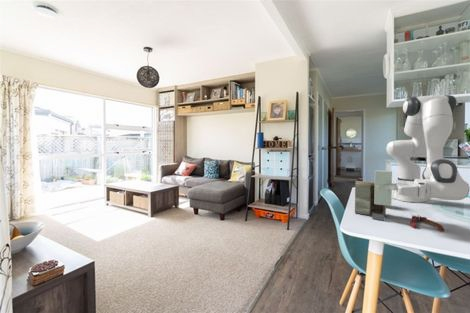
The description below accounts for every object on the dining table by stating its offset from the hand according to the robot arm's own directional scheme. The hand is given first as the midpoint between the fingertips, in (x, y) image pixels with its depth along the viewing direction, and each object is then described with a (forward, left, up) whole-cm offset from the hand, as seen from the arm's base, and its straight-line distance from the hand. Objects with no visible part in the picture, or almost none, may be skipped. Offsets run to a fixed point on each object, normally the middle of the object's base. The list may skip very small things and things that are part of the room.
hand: (384, 186), depth 110 cm
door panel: (0, -1, -9) cm, 9 cm away
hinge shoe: (0, -2, -17) cm, 17 cm away
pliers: (-2, +16, -18) cm, 24 cm away
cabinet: (-6, -6, -17) cm, 19 cm away
